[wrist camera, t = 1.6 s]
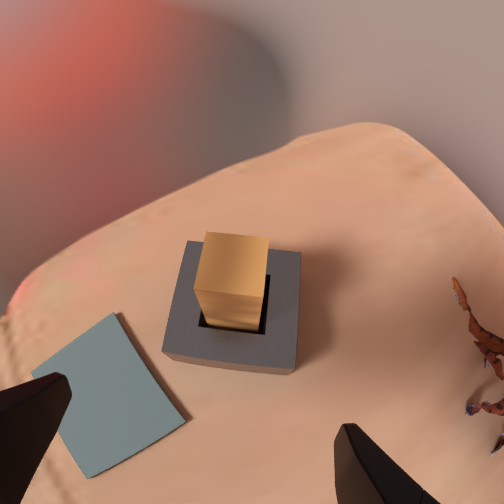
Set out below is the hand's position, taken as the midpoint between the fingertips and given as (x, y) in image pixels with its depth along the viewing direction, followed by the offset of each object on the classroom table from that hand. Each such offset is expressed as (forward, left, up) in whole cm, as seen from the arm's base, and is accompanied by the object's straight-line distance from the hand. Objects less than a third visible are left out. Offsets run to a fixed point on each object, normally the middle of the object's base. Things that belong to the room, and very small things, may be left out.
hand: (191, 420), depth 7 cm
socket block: (+6, -6, -14) cm, 16 cm away
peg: (+6, -6, -14) cm, 16 cm away
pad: (+7, +8, -14) cm, 17 cm away
